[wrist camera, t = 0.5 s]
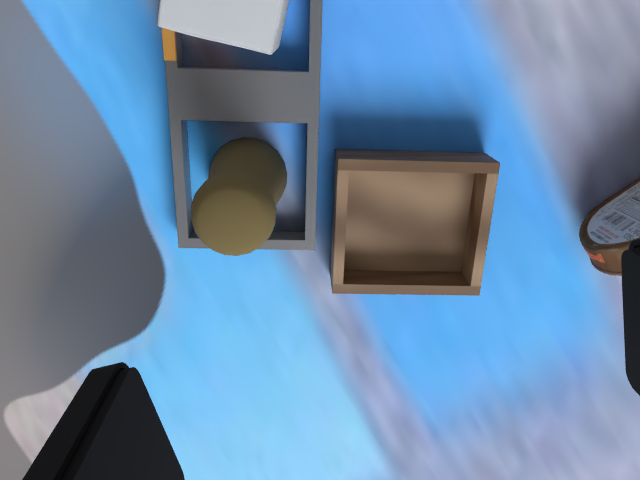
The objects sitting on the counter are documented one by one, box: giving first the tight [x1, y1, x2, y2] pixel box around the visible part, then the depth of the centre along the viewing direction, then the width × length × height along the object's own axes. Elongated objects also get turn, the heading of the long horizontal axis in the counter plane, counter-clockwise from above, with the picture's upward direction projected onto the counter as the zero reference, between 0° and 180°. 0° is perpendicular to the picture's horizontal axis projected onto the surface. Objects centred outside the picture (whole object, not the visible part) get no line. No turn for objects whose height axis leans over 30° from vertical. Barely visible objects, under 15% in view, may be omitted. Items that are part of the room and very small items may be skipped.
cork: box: [191, 137, 287, 256], centre depth 36 cm, size 6×6×11 cm
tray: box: [330, 149, 500, 295], centre depth 41 cm, size 11×12×4 cm
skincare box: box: [157, 0, 289, 55], centre depth 31 cm, size 6×4×12 cm
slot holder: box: [162, 0, 323, 250], centre depth 38 cm, size 22×11×2 cm, turn 178°
